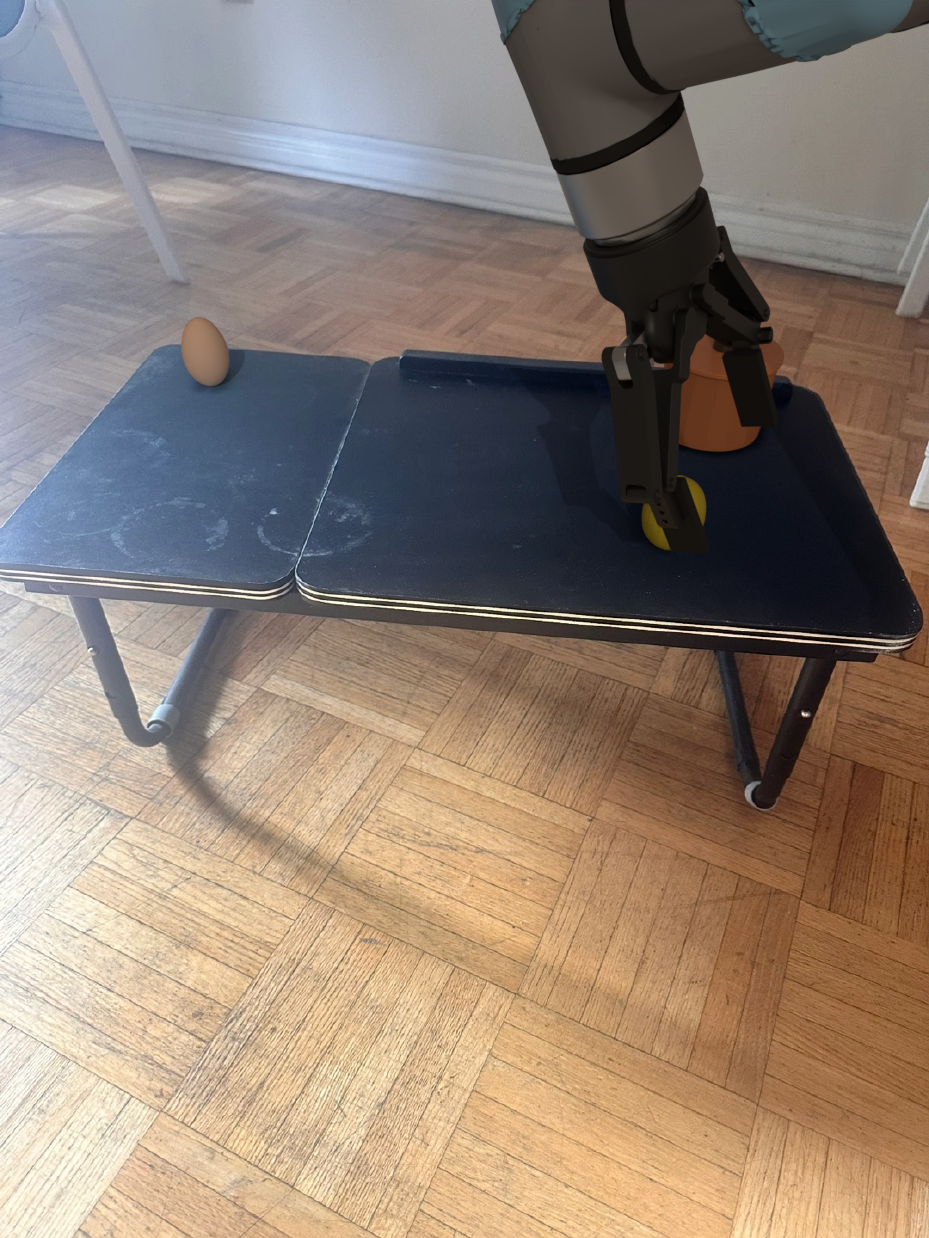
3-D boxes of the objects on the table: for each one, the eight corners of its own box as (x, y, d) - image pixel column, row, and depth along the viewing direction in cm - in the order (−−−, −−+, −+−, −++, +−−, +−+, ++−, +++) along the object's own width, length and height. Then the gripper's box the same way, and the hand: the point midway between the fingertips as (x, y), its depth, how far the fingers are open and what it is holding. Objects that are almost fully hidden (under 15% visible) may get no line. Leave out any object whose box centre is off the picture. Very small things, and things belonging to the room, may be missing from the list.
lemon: (641, 525, 79) (655, 454, 73) (700, 537, 78) (718, 466, 72) (630, 560, 75) (643, 488, 70) (691, 573, 74) (710, 501, 68)
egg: (194, 399, 96) (177, 331, 90) (186, 379, 99) (169, 312, 94) (239, 390, 98) (225, 323, 92) (229, 370, 101) (215, 305, 95)
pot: (749, 400, 96) (768, 331, 90) (766, 454, 88) (788, 381, 82) (651, 396, 97) (664, 326, 91) (659, 449, 89) (673, 376, 83)
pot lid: (770, 335, 91) (781, 293, 87) (791, 389, 82) (805, 345, 79) (659, 330, 91) (666, 289, 88) (668, 383, 83) (677, 340, 80)
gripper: (669, 121, 55) (740, 380, 69) (484, 348, 45) (610, 601, 58) (780, 89, 50) (833, 375, 64) (599, 336, 40) (708, 615, 53)
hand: (726, 483), depth 61 cm, fingers open, 13 cm apart
